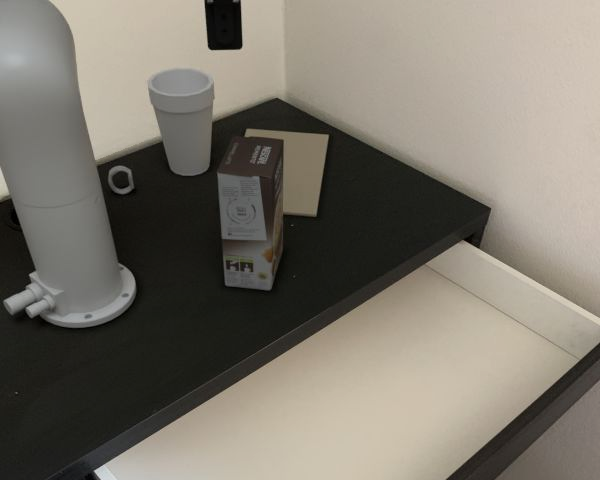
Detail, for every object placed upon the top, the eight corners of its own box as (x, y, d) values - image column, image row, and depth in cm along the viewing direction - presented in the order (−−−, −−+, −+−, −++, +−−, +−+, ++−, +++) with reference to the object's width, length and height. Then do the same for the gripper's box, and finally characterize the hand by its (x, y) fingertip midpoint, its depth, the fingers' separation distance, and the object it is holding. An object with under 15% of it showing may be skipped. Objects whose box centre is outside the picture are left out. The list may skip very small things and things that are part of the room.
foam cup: (209, 184, 101) (201, 99, 92) (151, 176, 102) (137, 92, 93) (225, 154, 107) (220, 71, 98) (171, 147, 109) (160, 64, 99)
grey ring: (111, 197, 98) (106, 172, 95) (109, 189, 100) (105, 164, 97) (135, 194, 99) (131, 169, 96) (134, 186, 100) (130, 162, 97)
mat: (316, 216, 96) (316, 214, 96) (221, 209, 97) (221, 206, 97) (328, 137, 112) (328, 134, 112) (247, 130, 113) (246, 128, 113)
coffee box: (272, 292, 85) (272, 178, 73) (223, 286, 85) (215, 172, 73) (283, 249, 91) (284, 138, 79) (238, 244, 91) (232, 133, 79)
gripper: (162, -225, 57) (183, -3, 70) (157, -191, 45) (184, 67, 58) (249, -224, 57) (254, -4, 70) (266, -190, 46) (269, 65, 59)
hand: (223, 28), depth 64 cm, fingers open, 9 cm apart
